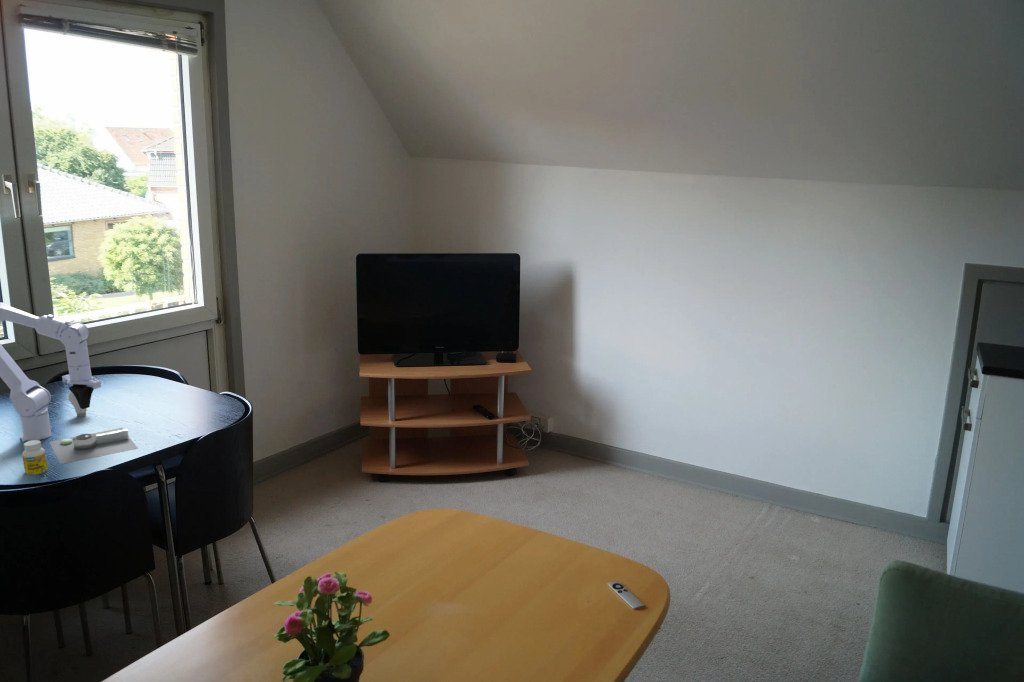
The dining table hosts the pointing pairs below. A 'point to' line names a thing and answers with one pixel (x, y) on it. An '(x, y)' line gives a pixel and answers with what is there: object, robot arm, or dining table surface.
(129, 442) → the plate
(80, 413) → the lightbulb
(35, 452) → the supplement bottle
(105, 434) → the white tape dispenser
